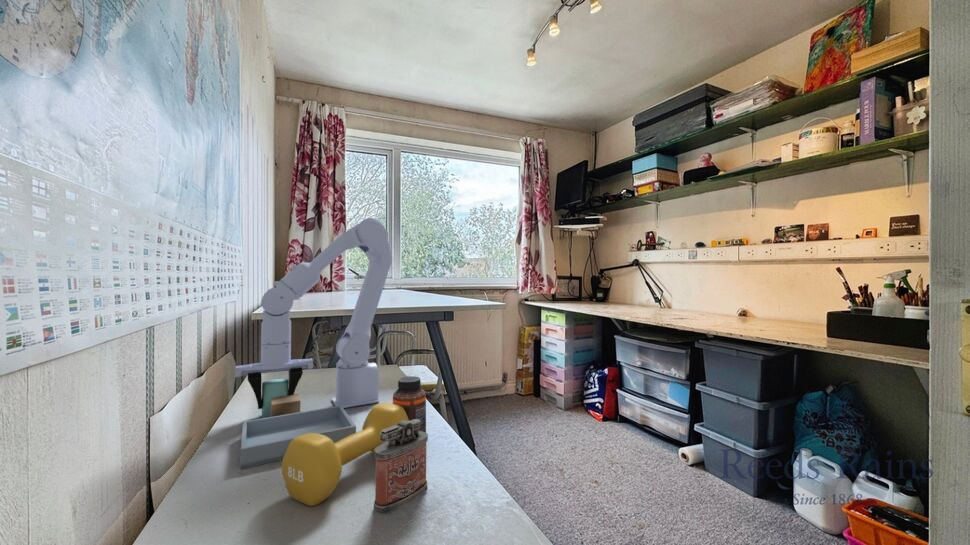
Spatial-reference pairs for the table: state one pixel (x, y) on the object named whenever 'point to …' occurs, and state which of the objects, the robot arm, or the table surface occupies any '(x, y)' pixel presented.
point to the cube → (285, 405)
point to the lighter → (400, 466)
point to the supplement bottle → (412, 399)
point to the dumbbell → (332, 455)
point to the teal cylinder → (272, 393)
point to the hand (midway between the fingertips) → (275, 405)
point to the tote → (290, 433)
